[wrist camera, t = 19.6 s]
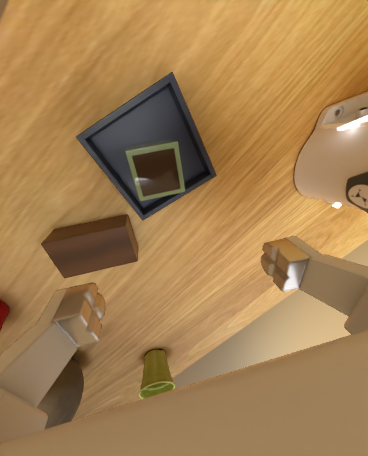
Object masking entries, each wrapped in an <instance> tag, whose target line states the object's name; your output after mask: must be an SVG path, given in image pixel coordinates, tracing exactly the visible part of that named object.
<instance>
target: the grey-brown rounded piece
mask: <svg viewBox="0 0 368 456" xmlns="http://www.w3.org/2000/svg"><path fill="white" fill-rule="evenodd" d="M83 387H84V379H83V373H82V370H81V367H80V365H79V364H78V362H76V361H75V360H73V359H70V360H69V362H68V363H67V365H66V366H65V367H64V369H63V370H62V372H61V373H60V375H59V376H58V377H57V379H56V380H55V382H54V383H53V385H52V386H51V387H50V389H49V390H48V392H47V393H46V395H45V396H44V397H43V399H42V400H41V402H40V403H39V405H38V406H37V407H36V408H38V409H39V410H41V411H43V412H45V413H46V414H47V416H48V420H47V423H46V426H45V429H48V428H51V427H54V426H57V425H61V424H64V423H67V422H70V421H71V420H72V418H73V417H74V415H75V413H76V411H77V409H78V407H79V404H80V401H81V398H82V393H83Z"/></svg>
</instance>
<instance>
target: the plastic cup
mask: <svg viewBox="0 0 368 456" xmlns="http://www.w3.org/2000/svg"><path fill="white" fill-rule="evenodd" d="M8 312H9V307H8V306H7V305H6V304H5V303H4V302H2V301H0V330H1V329H2V325H3V323H4V321H5V319H6V317H7V315H8Z"/></svg>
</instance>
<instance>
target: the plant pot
mask: <svg viewBox="0 0 368 456" xmlns="http://www.w3.org/2000/svg"><path fill="white" fill-rule="evenodd" d="M174 388H175V384H174V382H173V380H172V377H171V375H170V371H169V367H168V363H167V358H166V354H165V351H164V350H161V351H160V350H158V349H156V350H152V351H150V352H148V353H147V355H145V361H144V370H143V380H142V384H141V390H140V391H139V397H140V398H142V399H145V398H148V397H151V396H154V395H158V394H161V393H164V392H167V391H171V390H174Z"/></svg>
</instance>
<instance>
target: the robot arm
mask: <svg viewBox="0 0 368 456" xmlns="http://www.w3.org/2000/svg"><path fill="white" fill-rule="evenodd" d="M335 112H336V113H335ZM294 180H295V185H296V188H297V190H298V191H299V193H300V194H301V195H303V196H304V197H307V198H312V199H320V200H322V201H324V202H326V203H330V204H333V203H335V204H334V205H333V207H335V208H338V207H339V206H341V205H345V206H349V207H353V208H356V209H360V210H364V211H365V212H367V213H368V92H365V93H362V94H360V95H357V96H354V97H352V98H349V99H346V100H344V101H341V102H338V103H336V104H333V105H330V106H328V107H326V108H325V109H324V110H323V111H322V113H321V115H320V117H319V119H318V122H317V124H316V127H315V130H314V132H313V133H312V135H311V136H310V138H309V139H308V141H307V142H306V143H305V145H304V147H303V148H302V150H301V152H300V154H299V157H298V159H297V162H296V166H295V172H294ZM262 250H263V251H264V252H265V253H264V254H263V255H262V256H261V264H262V267H263V269H264V271H265V272H266V273H267V275H270V276H272V277H273V282H274V283H275V284H276V285H277V286H278V287H279V289H280V290H281V291H282V292H285V291H289V290H294V289H298V288H300V290H302V291H304V292H306V293H307V294H309V295H311V296H313V297H315V298H316V299H318V300H320V301H322V302H324V303H326V304H327V305H329V306H331V307H333V308H335V309H336V310H338V311H340V312H342V313H344V314H345V315H347V316H349V317H348V319H347V321H346V322H345V324H344V327H345V329H346V330H347V331H348V332H349V333H350V334H351V335H349V336H346V337H342V338H339V339H336V340H333V341H330V342H326V343H323V344H320V345H317V346H313V347H310V348H307V349H304V350H300V351H297V352H294V353H291V354H287V355H284V356H281V357H278V358H274V359H271V360H268V361H265V362H262V363H259V364H255V365H252V366H248V367H245V368H242V369H239V370H236V371H233V372H229V373H226V374H223V375H219V376H216V377H213V378H210V379H206V380H203V381H200V382H197V383H193V384H190V385H187V386H184V387H180V388H177V389H174V390H171V391H167V392H164V393H161V394H158V395H154V396H151V397H148V398H145V399H142V400H138V401H135V402H132V403H129V404H125V405H122V406H119V407H116V408H112V409H109V410H106V411H103V412H99V413H96V414H93V415H90V416H87V417H83V418H80V419H77V420H74V421H70V422H67V423H64V424H61V425H57V426H54V427H51V428H48V429H45V426H46V423H47V420H48V416H47V414H46V413H45V412H43V411H41V410H39V409H38V408H36V407H37V406H38V405H39V403H40V402H41V400H42V399H43V397H44V396H45V395H46V393H47V392H48V390H49V389H50V387H51V386H52V385H53V383H54V382H55V380H56V379H57V377H58V376H59V375H60V373H61V372H62V370H63V369H64V367H65V366H66V365H67V363H68V362H69V360H70V359H71V357H72V356H73V355H74V353H75V352H76V350H77V349H78V348H77V347H80V346H84V345H87V344H90V343H94V342H97V341H99V338H100V333H101V329H102V324H101V322H100V320H101V319H102V318H103V317H104V315H105V310H106V309H105V300H104V297H103V295H102V294H100V293H98V287H97V285H96V283H88V284H84V285H79V286H74V287H70V288H65V289H61V290H57V291H56V292H54V294H53V296H52V298H51V299H50V301H49V303H48V305H47V307H46V308H45V310H44V312H43V314H42V315H41V317H40V319H39V321H38V323H37V324H36V326H35V327H32V328H30V329H29V330H28V331H27V332H26V333H24V334H23V335H22V336H21V337H20V338H19V339H18V340H16V341H15V342H14V343H13V344H12V345H11V346H10V347H8V348H7V349H6V350H5V351H4V352H3V353H2V354H1V355H0V456H368V267H367V266H364V265H360V264H356V263H353V262H350V261H346V260H343V259H340V258H336V257H333V256H330V255H322V254H321V253H319V252H318V251H316V250H315V249H313V248H312V247H311V246H309V245H308V244H306V243H305V242H303V241H302V240H301V239H299V238H298V237H296V236H291V237H287V238H283V239H279V240H275V241H271V242H266V243H264V245H263V249H262Z"/></svg>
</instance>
